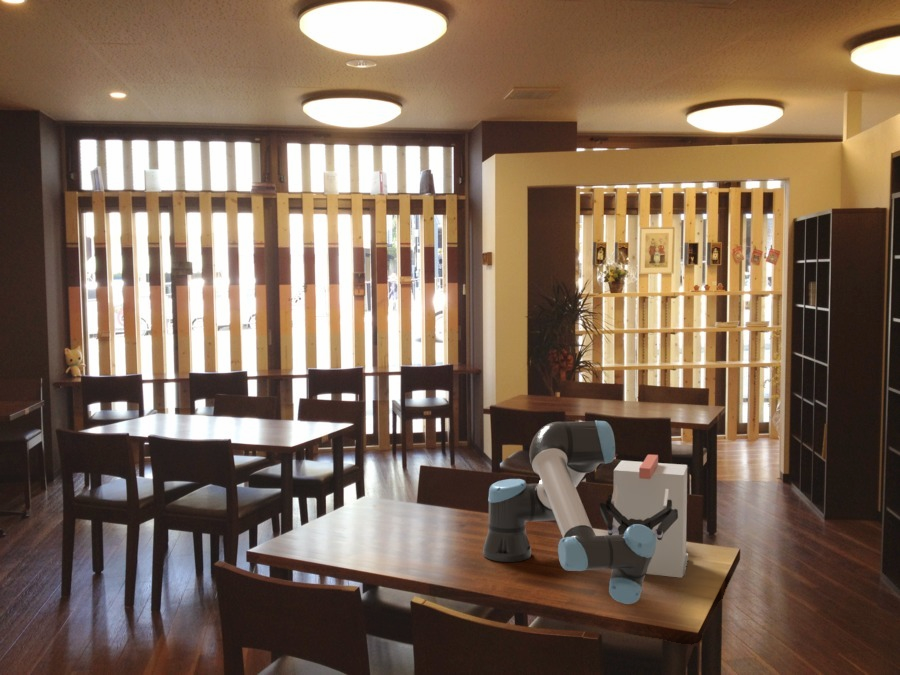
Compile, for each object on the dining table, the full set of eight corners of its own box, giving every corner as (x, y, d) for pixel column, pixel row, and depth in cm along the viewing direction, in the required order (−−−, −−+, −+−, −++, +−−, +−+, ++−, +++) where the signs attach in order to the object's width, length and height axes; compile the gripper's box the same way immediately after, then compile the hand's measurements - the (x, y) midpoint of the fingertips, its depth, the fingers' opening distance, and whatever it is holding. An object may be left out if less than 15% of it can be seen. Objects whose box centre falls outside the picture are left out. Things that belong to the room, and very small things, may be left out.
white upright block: (684, 578, 232) (685, 475, 231) (610, 569, 239) (611, 470, 238) (688, 559, 249) (689, 463, 248) (619, 552, 256) (620, 459, 255)
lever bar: (650, 479, 225) (650, 468, 225) (639, 478, 226) (639, 467, 226) (657, 464, 246) (658, 455, 246) (647, 464, 247) (648, 454, 247)
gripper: (583, 553, 207) (596, 497, 224) (683, 564, 199) (689, 504, 215) (581, 532, 204) (594, 476, 220) (683, 542, 195) (688, 483, 212)
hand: (641, 490), depth 218 cm, fingers open, 13 cm apart
